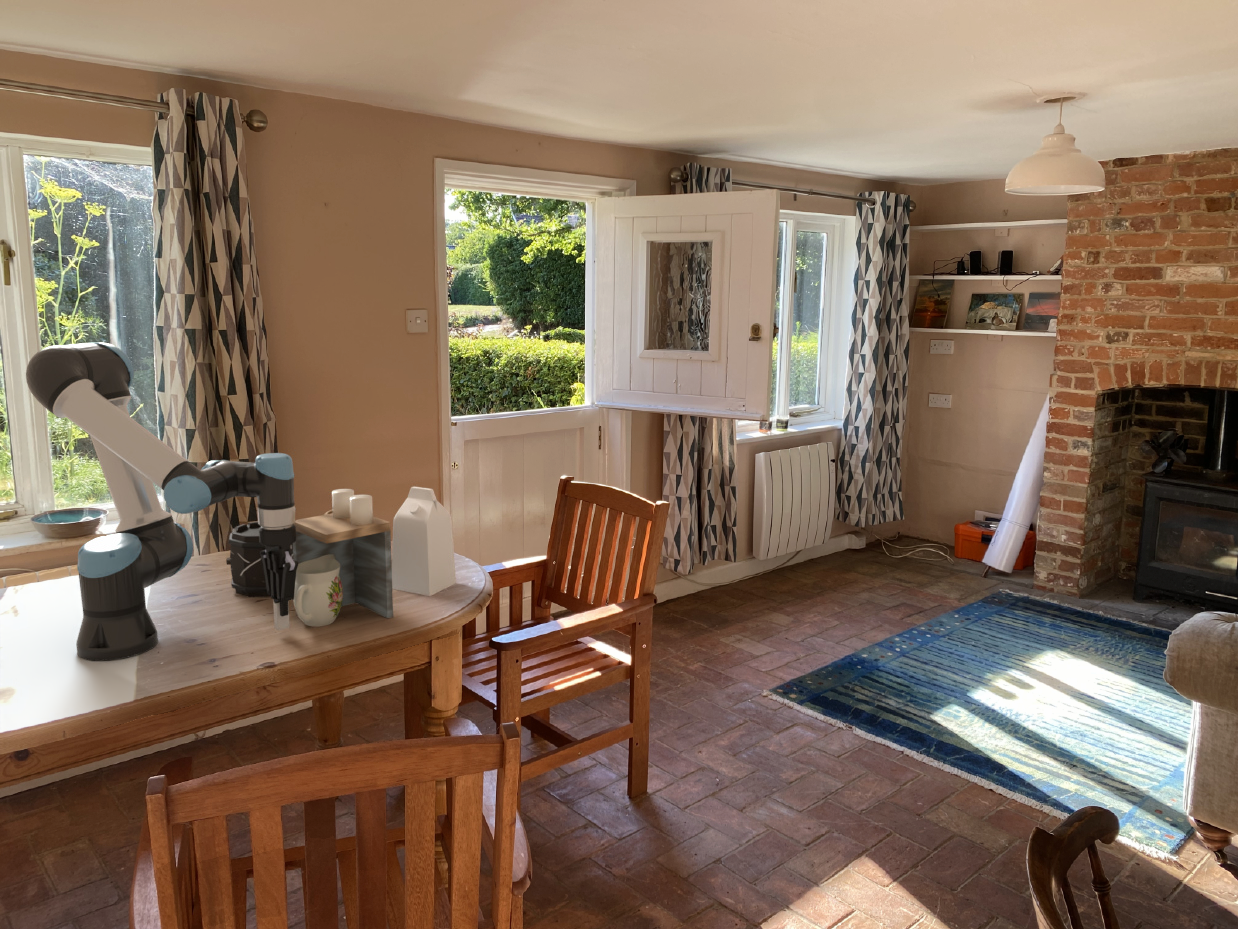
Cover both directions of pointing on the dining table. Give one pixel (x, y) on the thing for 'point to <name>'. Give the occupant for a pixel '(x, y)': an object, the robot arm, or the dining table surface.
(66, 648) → the dining table surface
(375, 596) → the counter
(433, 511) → the milk
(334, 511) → the white ceramic cylinder
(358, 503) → the white ceramic cup
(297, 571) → the pitcher
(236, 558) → the black octagonal canister
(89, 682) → the dining table surface
